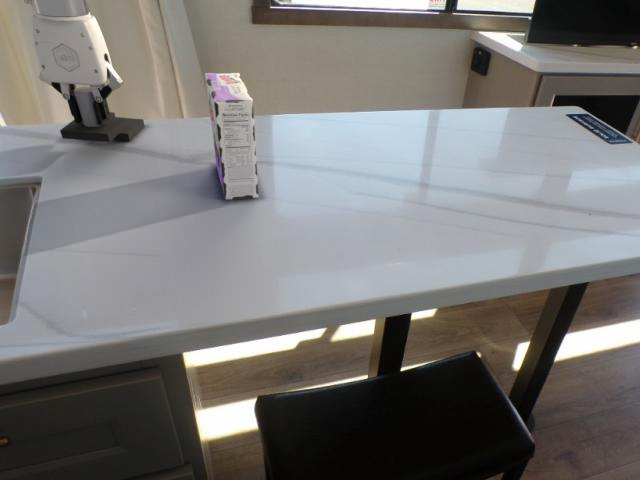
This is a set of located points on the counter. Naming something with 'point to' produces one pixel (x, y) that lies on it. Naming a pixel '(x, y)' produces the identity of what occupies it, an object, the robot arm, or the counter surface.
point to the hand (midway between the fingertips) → (92, 120)
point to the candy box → (233, 134)
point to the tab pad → (95, 131)
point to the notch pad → (130, 129)
